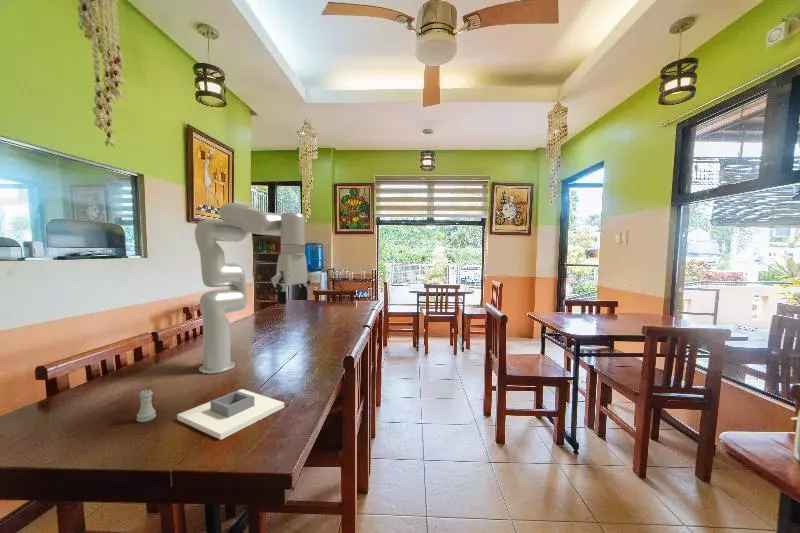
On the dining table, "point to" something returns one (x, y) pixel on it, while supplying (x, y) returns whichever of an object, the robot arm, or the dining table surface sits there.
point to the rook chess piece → (146, 407)
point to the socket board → (230, 413)
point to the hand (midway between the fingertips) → (293, 301)
